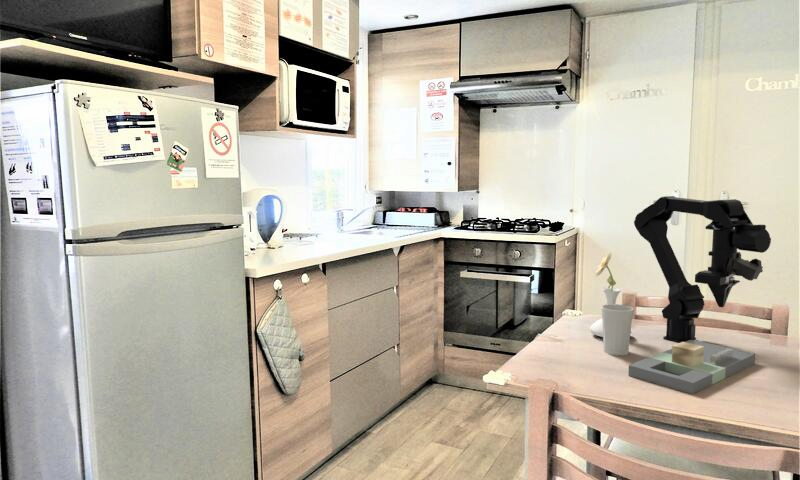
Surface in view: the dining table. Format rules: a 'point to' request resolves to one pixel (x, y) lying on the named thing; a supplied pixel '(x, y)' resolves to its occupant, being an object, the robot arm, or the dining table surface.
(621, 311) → the cup
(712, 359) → the channel rails
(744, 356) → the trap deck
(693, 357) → the beech block
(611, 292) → the flower in vase
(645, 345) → the dining table surface
